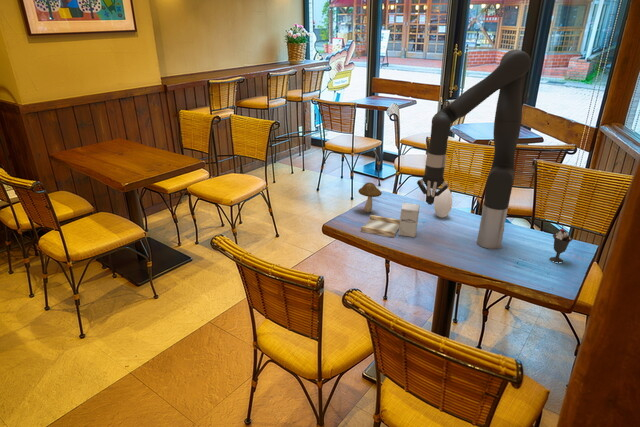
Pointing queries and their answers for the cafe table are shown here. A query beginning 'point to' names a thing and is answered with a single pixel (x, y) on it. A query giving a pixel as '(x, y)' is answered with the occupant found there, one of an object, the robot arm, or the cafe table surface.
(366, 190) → the mushroom
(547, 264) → the cafe table surface
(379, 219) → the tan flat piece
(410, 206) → the supplement box
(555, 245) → the sundae
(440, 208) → the sauce bottle
